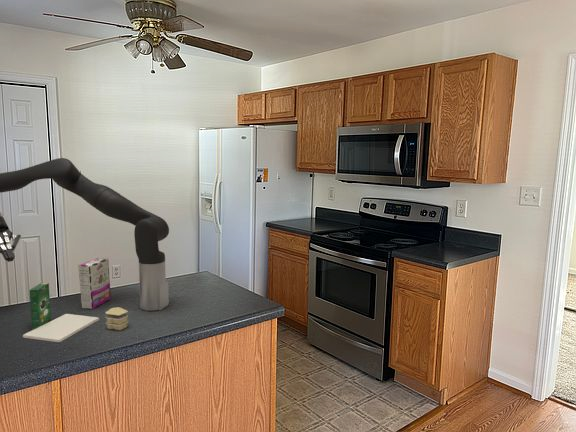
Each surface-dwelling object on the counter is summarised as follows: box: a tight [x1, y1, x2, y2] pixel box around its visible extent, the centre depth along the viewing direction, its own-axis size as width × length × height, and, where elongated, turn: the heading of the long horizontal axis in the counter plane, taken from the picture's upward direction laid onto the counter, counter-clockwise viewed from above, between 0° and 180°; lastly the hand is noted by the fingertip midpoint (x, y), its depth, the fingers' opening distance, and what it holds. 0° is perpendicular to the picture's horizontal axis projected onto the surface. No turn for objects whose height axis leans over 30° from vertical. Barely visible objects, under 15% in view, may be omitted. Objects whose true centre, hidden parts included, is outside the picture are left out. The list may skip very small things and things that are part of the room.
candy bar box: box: [78, 257, 112, 310], centre depth 157 cm, size 11×5×16 cm, turn 168°
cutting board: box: [22, 313, 100, 343], centre depth 136 cm, size 13×18×1 cm
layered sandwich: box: [104, 306, 129, 331], centre depth 138 cm, size 10×9×6 cm
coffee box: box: [28, 282, 52, 330], centre depth 138 cm, size 8×3×13 cm, turn 5°
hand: (11, 260), depth 146 cm, fingers closed
